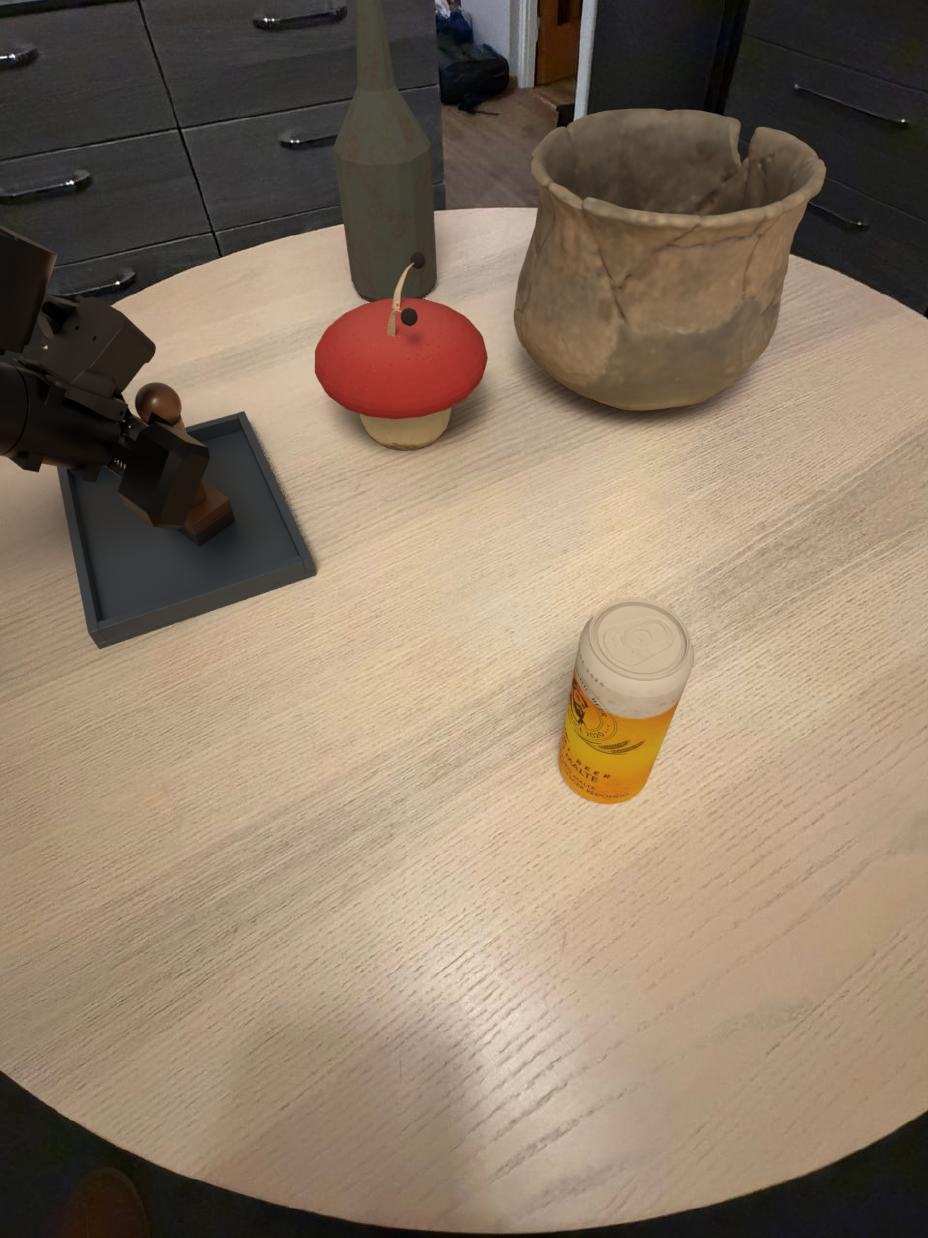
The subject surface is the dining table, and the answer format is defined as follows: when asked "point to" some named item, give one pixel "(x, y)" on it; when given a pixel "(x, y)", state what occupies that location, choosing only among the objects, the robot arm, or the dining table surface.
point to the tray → (182, 543)
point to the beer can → (623, 697)
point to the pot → (659, 253)
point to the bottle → (384, 174)
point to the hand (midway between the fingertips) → (195, 456)
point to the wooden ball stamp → (209, 504)
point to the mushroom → (401, 365)
